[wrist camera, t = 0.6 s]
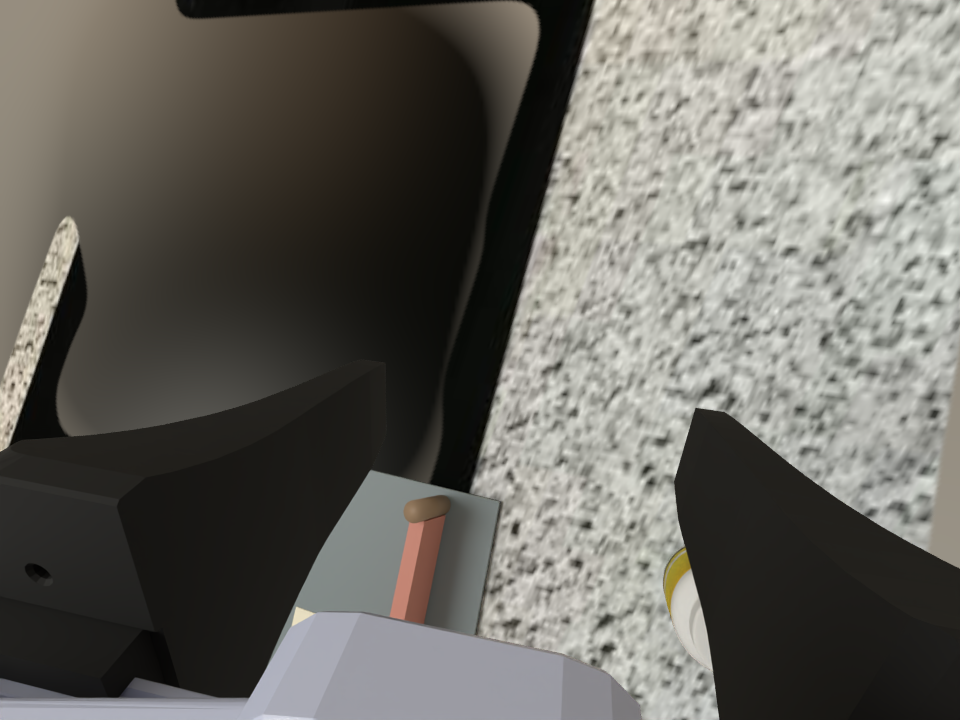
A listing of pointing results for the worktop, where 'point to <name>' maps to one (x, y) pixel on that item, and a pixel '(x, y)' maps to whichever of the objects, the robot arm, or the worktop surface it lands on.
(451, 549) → the card
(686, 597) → the supplement bottle
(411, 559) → the gate panel
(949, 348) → the worktop surface
